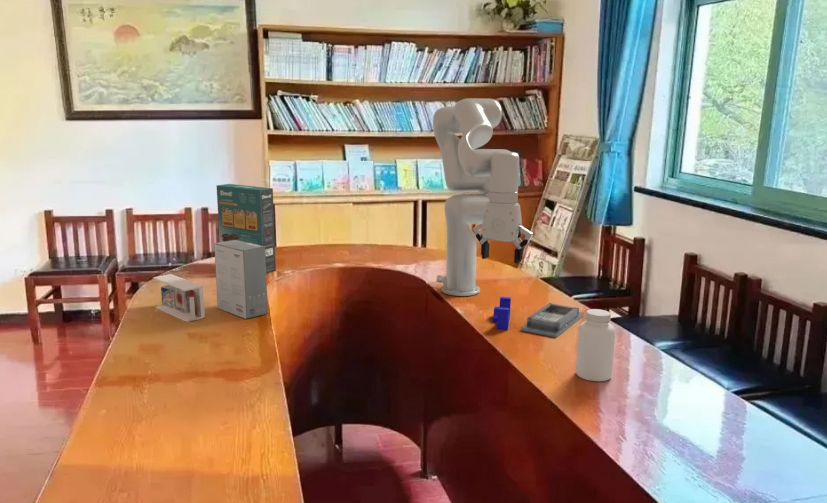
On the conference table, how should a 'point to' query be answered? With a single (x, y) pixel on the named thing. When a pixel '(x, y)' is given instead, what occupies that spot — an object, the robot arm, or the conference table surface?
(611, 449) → the conference table surface
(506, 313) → the cable clip
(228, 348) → the conference table surface
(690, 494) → the conference table surface
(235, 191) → the cake mix box
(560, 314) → the grey rectangular tray
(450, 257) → the robot arm
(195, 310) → the cigarette display
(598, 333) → the pill bottle
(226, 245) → the hard drive box
